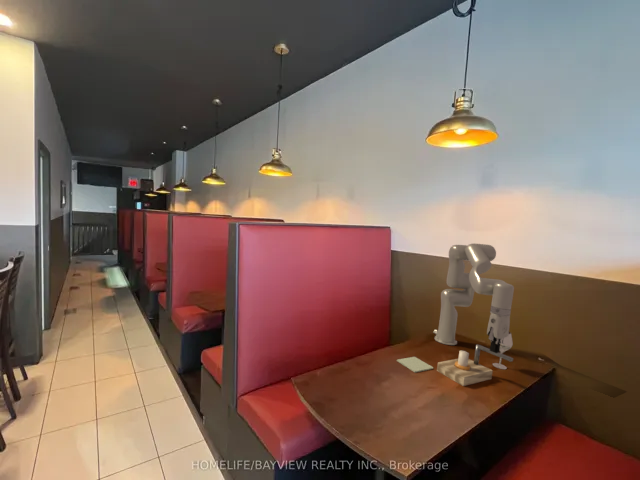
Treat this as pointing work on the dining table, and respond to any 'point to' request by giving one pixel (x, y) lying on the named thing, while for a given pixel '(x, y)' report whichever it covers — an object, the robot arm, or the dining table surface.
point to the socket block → (464, 372)
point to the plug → (463, 361)
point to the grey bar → (477, 352)
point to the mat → (415, 364)
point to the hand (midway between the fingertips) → (494, 351)
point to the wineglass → (504, 349)
